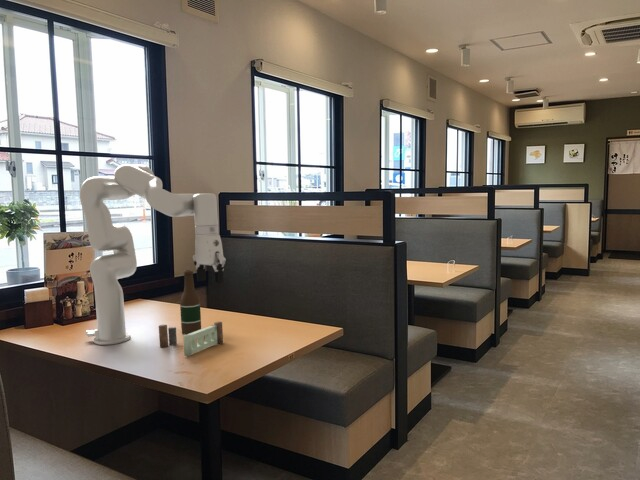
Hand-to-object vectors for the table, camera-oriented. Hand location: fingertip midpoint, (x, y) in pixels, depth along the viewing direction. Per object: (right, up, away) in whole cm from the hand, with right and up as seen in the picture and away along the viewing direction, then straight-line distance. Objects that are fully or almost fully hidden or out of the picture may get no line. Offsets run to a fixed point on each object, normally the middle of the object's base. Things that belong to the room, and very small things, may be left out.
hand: (210, 282), depth 167 cm
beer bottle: (-13, -22, +26) cm, 36 cm away
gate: (-4, -23, +2) cm, 23 cm away
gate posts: (-9, -23, +10) cm, 27 cm away
